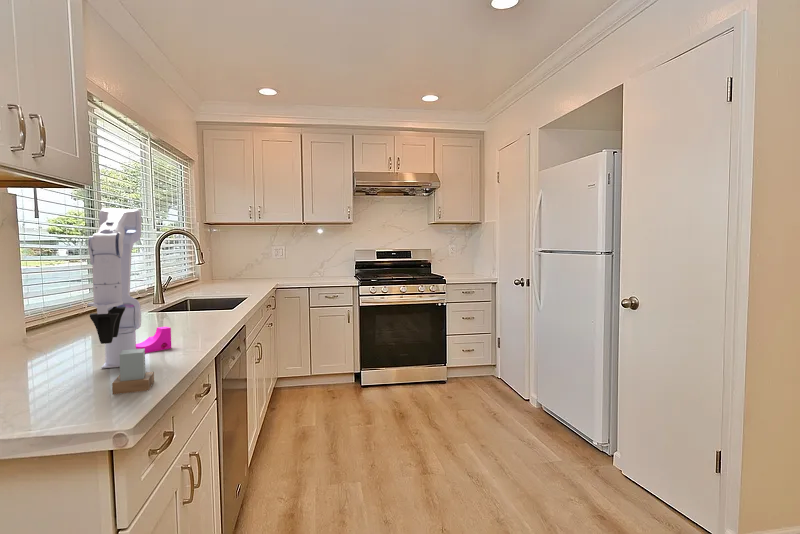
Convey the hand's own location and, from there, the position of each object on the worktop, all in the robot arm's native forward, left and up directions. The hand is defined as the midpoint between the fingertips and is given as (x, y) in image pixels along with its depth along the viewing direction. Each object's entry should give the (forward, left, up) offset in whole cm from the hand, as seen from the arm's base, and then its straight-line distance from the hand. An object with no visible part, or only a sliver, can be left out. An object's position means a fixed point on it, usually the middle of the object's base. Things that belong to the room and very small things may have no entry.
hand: (109, 340), depth 110 cm
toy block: (-29, +3, -10) cm, 31 cm away
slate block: (+9, +6, -7) cm, 13 cm away
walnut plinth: (+9, +6, -10) cm, 15 cm away
